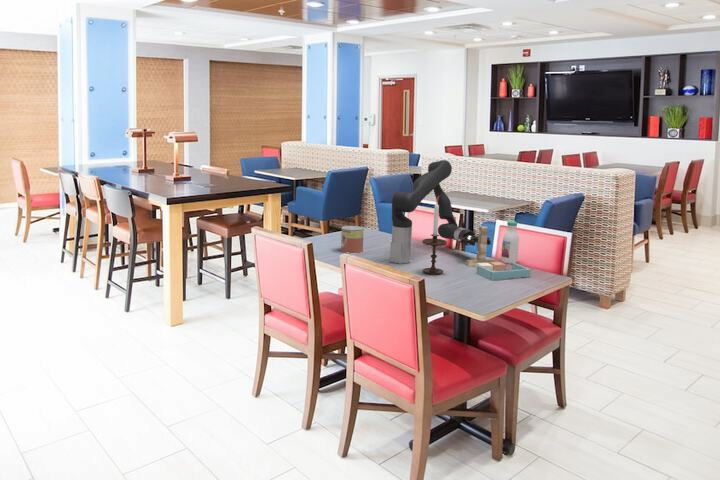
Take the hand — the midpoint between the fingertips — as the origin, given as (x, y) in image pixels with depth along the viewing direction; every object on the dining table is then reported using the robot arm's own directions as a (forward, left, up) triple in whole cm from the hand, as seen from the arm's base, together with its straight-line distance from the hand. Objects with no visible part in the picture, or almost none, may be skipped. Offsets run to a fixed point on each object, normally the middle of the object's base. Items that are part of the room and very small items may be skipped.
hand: (482, 243), depth 303 cm
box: (-9, -16, -11) cm, 21 cm away
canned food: (-22, +61, -11) cm, 66 cm away
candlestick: (-28, +9, -11) cm, 32 cm away
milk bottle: (+16, -7, -11) cm, 20 cm away
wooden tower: (0, 0, -11) cm, 11 cm away
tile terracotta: (-1, -9, -11) cm, 14 cm away
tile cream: (-7, -6, -11) cm, 14 cm away
